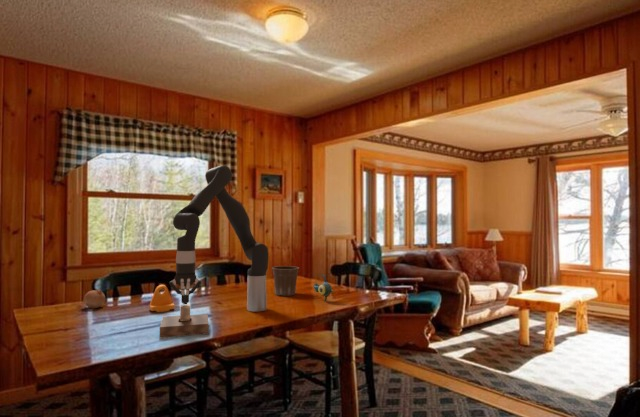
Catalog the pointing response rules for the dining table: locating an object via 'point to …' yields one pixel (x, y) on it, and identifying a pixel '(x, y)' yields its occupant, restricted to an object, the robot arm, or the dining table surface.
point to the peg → (185, 313)
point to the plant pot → (285, 280)
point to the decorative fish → (323, 288)
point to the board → (184, 326)
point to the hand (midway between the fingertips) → (185, 303)
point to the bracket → (161, 300)
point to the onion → (94, 299)
